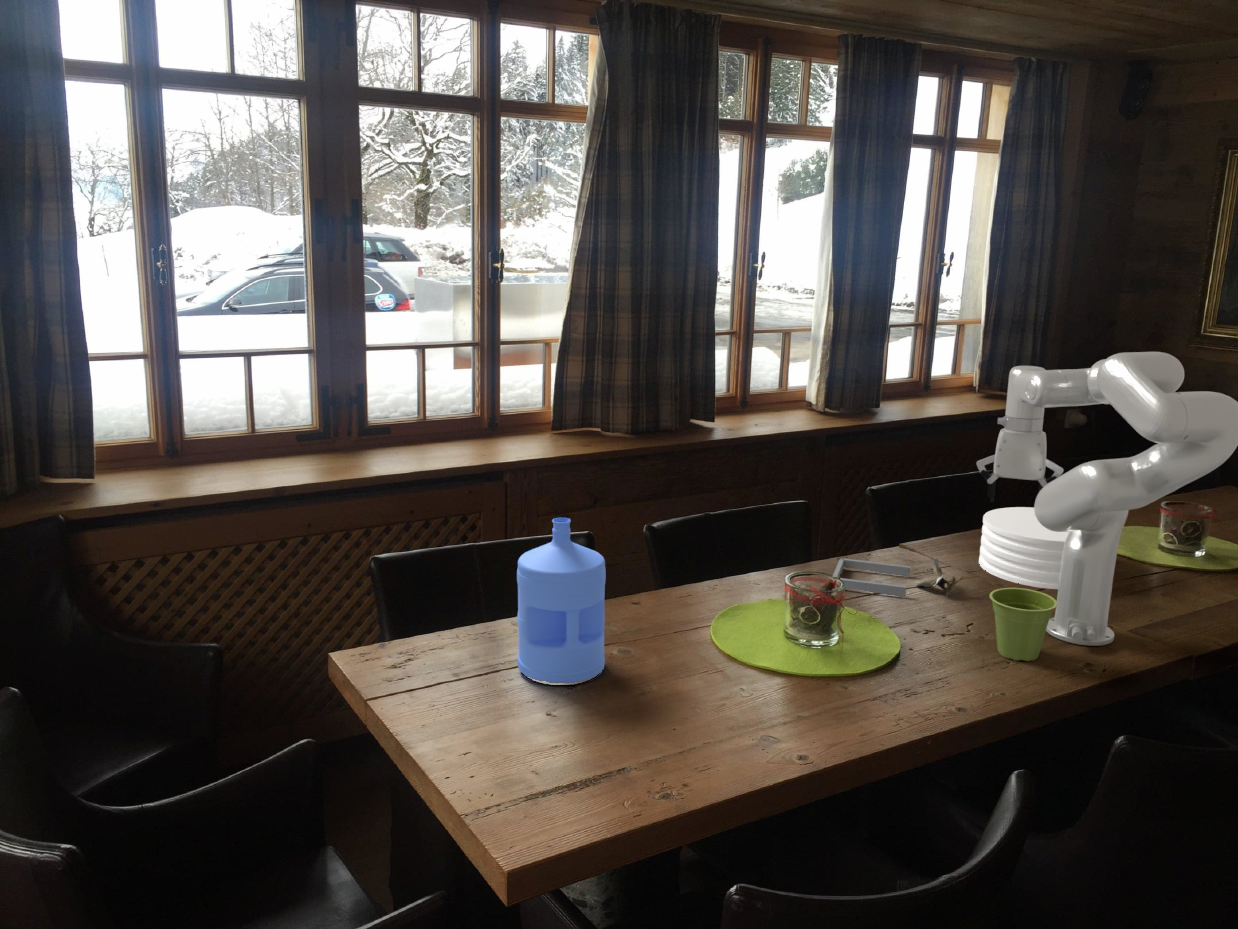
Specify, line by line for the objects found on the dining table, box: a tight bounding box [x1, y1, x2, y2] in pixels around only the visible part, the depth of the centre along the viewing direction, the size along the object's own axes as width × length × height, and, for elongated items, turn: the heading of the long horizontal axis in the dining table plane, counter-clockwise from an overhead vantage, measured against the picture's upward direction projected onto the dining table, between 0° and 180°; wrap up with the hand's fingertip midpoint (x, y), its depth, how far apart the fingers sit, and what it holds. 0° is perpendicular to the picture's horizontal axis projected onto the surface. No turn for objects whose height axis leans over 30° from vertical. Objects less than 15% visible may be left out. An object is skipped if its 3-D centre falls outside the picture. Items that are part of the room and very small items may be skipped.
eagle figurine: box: [916, 558, 964, 597], centre depth 222 cm, size 8×7×9 cm
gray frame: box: [831, 557, 912, 598], centre depth 227 cm, size 15×16×2 cm
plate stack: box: [978, 506, 1070, 590], centre depth 237 cm, size 28×28×12 cm
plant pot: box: [989, 587, 1058, 662], centre depth 188 cm, size 12×12×11 cm
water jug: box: [516, 517, 607, 683], centre depth 178 cm, size 16×16×28 cm
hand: (1015, 503), depth 216 cm, fingers open, 9 cm apart
